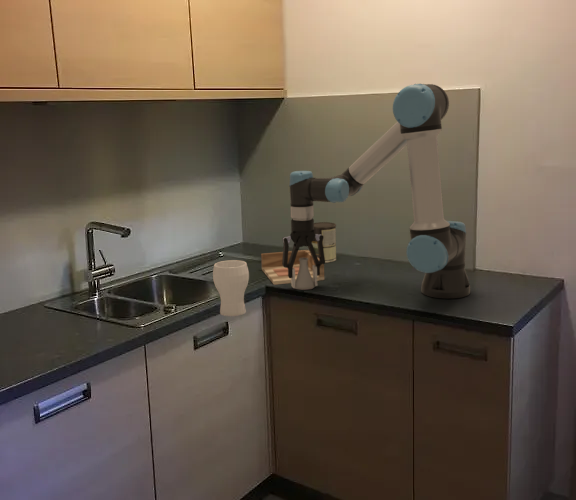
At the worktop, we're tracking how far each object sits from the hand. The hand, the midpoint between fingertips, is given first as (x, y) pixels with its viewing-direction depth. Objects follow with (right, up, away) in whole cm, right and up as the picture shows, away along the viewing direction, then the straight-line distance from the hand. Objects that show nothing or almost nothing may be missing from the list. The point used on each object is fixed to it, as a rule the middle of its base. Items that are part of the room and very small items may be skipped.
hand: (304, 285), depth 222 cm
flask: (0, -1, 0) cm, 1 cm away
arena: (-4, +3, +17) cm, 18 cm away
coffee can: (+8, +8, +38) cm, 40 cm away
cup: (-22, -7, -24) cm, 33 cm away
